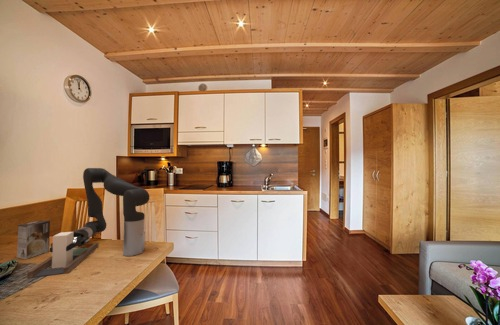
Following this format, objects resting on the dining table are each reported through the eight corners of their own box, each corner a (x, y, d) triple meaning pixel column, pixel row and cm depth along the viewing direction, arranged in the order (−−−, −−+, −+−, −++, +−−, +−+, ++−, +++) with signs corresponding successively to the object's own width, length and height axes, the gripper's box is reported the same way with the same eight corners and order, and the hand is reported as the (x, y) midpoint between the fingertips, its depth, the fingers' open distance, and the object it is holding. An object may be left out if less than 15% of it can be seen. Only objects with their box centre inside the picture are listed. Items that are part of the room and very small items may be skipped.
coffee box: (40, 250, 101) (41, 219, 102) (49, 251, 100) (50, 220, 100) (16, 258, 92) (17, 224, 93) (25, 259, 91) (27, 225, 91)
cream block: (72, 261, 90) (73, 231, 90) (65, 266, 85) (67, 235, 85) (59, 262, 88) (60, 232, 89) (51, 268, 84) (52, 236, 84)
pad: (94, 247, 105) (94, 246, 105) (85, 255, 96) (85, 254, 96) (72, 249, 102) (72, 248, 102) (61, 257, 93) (61, 256, 93)
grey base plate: (84, 255, 96) (84, 254, 96) (63, 273, 80) (63, 272, 80) (60, 258, 93) (60, 257, 93) (32, 277, 77) (32, 276, 77)
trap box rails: (98, 247, 106) (98, 242, 106) (68, 273, 80) (68, 267, 80) (68, 249, 102) (68, 245, 102) (27, 278, 76) (27, 271, 76)
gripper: (64, 230, 99) (38, 242, 82) (97, 227, 103) (79, 239, 87) (63, 244, 98) (38, 260, 82) (96, 241, 103) (78, 256, 86)
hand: (59, 249), depth 84 cm, fingers closed on cream block, 5 cm apart
